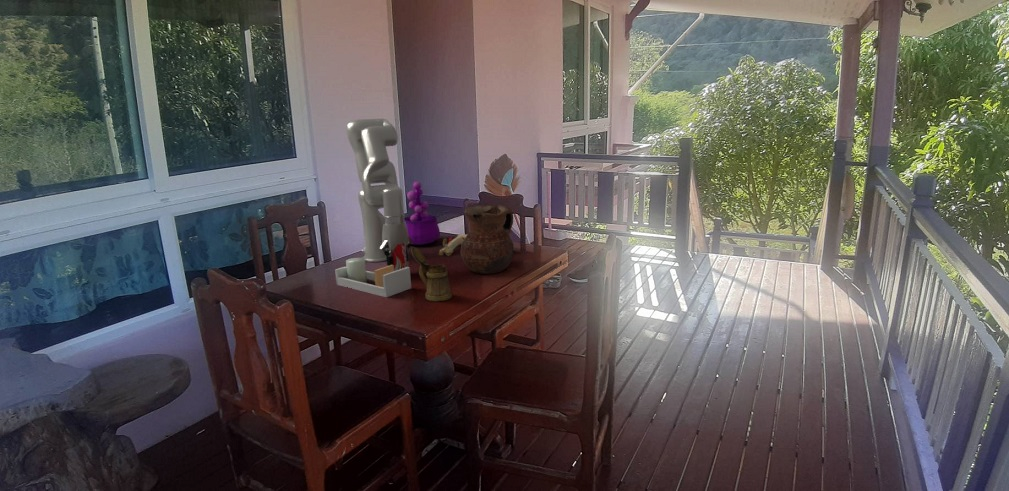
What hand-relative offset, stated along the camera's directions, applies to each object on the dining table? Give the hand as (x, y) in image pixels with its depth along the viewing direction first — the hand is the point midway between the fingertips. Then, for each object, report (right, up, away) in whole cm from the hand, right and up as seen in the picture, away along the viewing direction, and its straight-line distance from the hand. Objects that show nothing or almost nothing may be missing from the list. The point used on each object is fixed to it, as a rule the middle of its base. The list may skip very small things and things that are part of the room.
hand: (397, 263), depth 232 cm
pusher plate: (-1, -9, -16) cm, 19 cm away
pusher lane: (-6, -9, -13) cm, 17 cm away
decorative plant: (+2, +8, +52) cm, 53 cm away
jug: (+36, -3, +5) cm, 36 cm away
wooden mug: (+17, -11, -26) cm, 33 cm away
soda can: (0, -3, +1) cm, 4 cm away
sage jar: (-14, -7, -7) cm, 17 cm away
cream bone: (+20, +5, +39) cm, 44 cm away
